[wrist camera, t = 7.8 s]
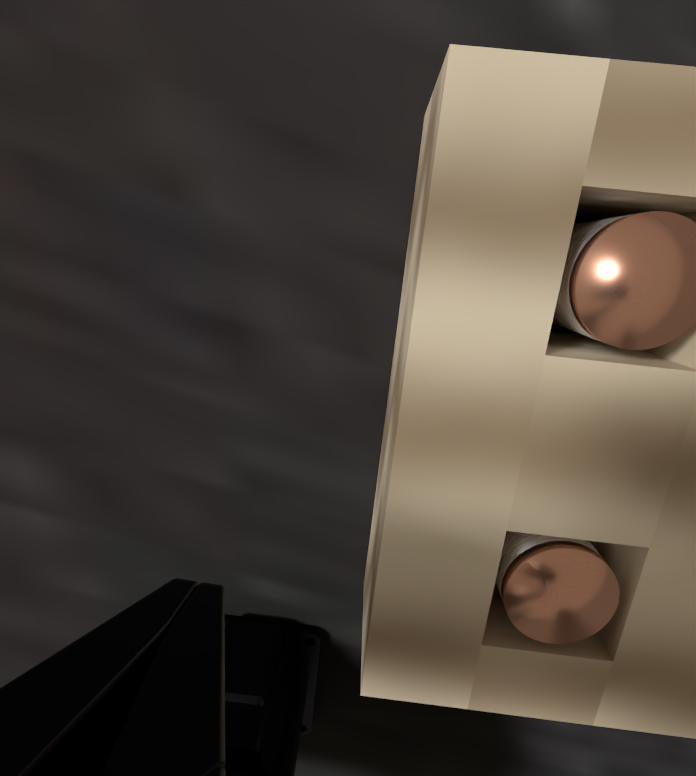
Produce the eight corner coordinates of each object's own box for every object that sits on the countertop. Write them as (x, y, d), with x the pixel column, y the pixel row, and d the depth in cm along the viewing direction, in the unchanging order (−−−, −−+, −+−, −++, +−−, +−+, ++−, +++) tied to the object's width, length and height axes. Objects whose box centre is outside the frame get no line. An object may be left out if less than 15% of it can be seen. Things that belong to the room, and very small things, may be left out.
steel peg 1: (544, 548, 21) (604, 650, 16) (464, 538, 21) (495, 636, 16) (562, 475, 20) (632, 557, 15) (478, 465, 20) (516, 543, 15)
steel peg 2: (599, 326, 18) (694, 357, 13) (507, 316, 19) (562, 342, 13) (623, 230, 17) (736, 218, 12) (525, 220, 18) (594, 204, 12)
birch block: (617, 613, 22) (702, 739, 16) (364, 583, 23) (360, 695, 17) (762, 148, 17) (965, 91, 11) (424, 115, 17) (450, 44, 11)
